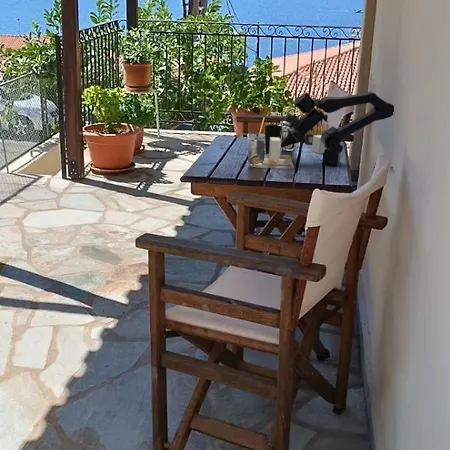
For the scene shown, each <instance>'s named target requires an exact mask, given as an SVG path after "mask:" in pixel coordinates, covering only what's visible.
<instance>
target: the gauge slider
mask: <svg viewBox="0 0 450 450" xmlns="http://www.w3.org/2000/svg"><path fill="white" fill-rule="evenodd" d="M281 144H282V140H281V138H277V137H270V147H269V154H268V155H269V161H270V162H274V163H277V162H279V161H280V155H281V148H282V147H281Z"/></svg>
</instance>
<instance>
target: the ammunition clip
mask: <svg viewBox="0 0 450 450" xmlns="http://www.w3.org/2000/svg"><path fill="white" fill-rule="evenodd" d="M328 129H329V120H327V122H325V121H324V120H321V121H320V122H319V123H318V124H317V125H315V126H314V127H313V130H312V131H311V130H310V131H309V132H308V133H306V134H305V138H306V141H305V143H304V145H306V146H312V144H313V136H314V135H322V134H323V133H324V132H325V131H324V130H328Z"/></svg>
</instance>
